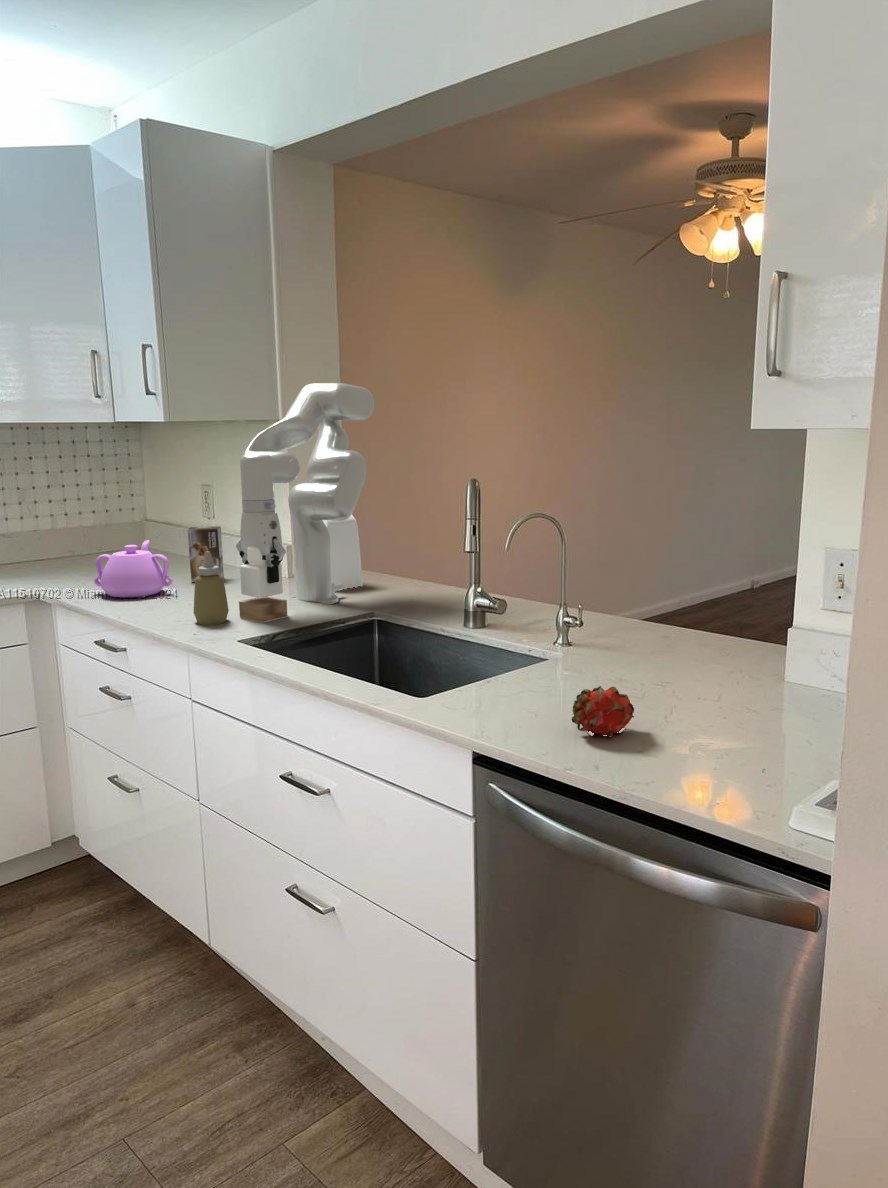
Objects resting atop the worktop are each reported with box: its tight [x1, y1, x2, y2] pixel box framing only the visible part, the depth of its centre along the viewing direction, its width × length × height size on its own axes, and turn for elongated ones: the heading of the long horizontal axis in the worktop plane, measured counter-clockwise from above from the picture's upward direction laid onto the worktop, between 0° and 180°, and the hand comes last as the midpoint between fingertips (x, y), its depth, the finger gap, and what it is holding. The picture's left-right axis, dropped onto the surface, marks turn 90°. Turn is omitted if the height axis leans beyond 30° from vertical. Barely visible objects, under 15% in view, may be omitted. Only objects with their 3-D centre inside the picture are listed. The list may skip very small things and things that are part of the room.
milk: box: [323, 514, 364, 590], centre depth 261 cm, size 12×12×26 cm
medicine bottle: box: [239, 546, 284, 598], centre depth 218 cm, size 7×7×12 cm
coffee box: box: [187, 525, 225, 583], centre depth 272 cm, size 9×6×16 cm
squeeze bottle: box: [193, 551, 229, 626], centre depth 214 cm, size 8×8×18 cm
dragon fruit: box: [571, 685, 635, 737], centre depth 144 cm, size 8×8×12 cm
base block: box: [238, 596, 288, 623], centre depth 220 cm, size 8×8×4 cm
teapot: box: [93, 539, 174, 598], centre depth 255 cm, size 22×22×14 cm
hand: (261, 580), depth 218 cm, fingers closed on medicine bottle, 7 cm apart
